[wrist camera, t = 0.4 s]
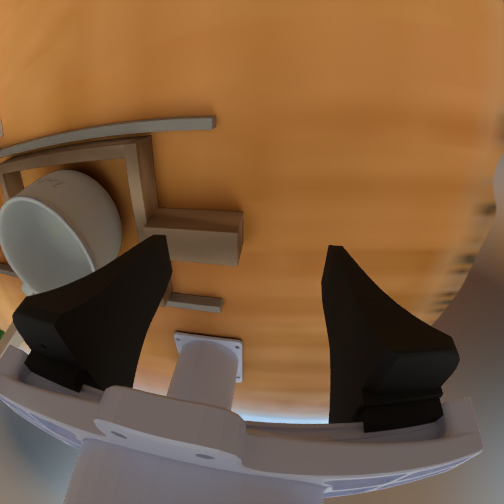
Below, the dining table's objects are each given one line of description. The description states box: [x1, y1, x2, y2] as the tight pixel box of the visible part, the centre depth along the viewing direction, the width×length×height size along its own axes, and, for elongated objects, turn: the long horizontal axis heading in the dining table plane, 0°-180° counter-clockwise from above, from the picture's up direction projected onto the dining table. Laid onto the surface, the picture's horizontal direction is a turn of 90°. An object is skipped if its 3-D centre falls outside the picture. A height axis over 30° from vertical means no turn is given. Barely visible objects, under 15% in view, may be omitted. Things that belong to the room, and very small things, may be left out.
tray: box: [0, 136, 243, 307], centre depth 22 cm, size 15×25×3 cm, turn 89°
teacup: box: [0, 170, 122, 296], centre depth 20 cm, size 14×11×8 cm
